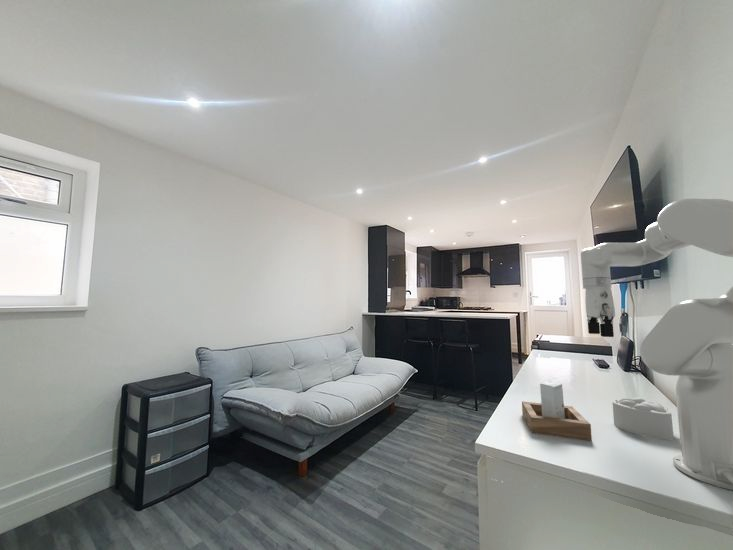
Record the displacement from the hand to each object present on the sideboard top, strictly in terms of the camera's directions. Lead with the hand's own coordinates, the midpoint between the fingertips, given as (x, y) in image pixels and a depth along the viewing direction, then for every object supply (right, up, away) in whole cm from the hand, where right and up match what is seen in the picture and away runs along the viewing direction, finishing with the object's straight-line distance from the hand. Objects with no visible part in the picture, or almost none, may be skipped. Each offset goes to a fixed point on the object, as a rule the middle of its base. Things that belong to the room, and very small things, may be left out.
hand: (600, 335), depth 96 cm
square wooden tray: (-19, -28, -5) cm, 34 cm away
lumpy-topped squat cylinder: (+7, -28, -7) cm, 30 cm away
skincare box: (-19, -27, -5) cm, 33 cm away
